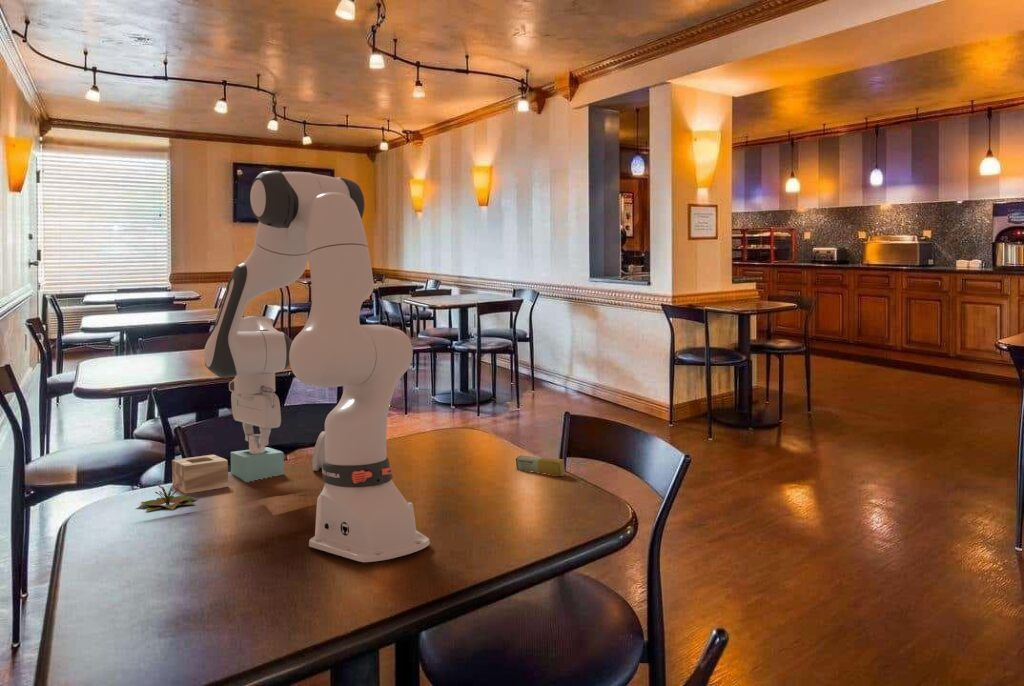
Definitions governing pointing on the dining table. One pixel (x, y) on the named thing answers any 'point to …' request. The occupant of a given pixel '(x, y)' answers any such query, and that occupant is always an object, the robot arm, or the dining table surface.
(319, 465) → the mechanical component
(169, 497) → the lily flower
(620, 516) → the dining table surface
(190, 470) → the block
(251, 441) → the lock pin
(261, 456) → the teal socket
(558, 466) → the medication box
